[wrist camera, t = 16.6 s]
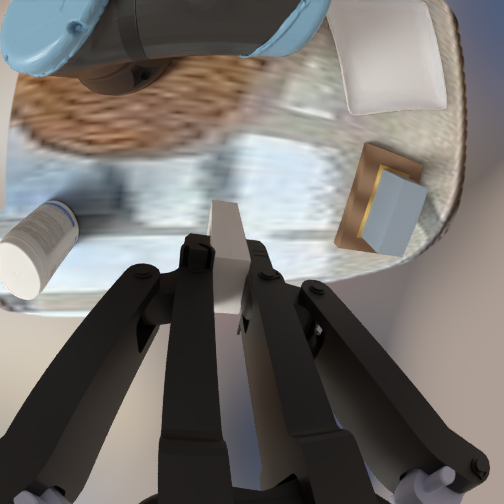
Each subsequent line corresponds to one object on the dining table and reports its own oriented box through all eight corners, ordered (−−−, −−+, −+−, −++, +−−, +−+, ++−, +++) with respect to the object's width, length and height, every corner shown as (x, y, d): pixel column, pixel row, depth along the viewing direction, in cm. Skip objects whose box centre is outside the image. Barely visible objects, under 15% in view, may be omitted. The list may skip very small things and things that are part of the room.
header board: (364, 142, 39) (383, 149, 34) (416, 162, 42) (436, 171, 37) (333, 242, 47) (346, 258, 42) (385, 250, 50) (400, 265, 45)
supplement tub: (33, 201, 36) (-17, 240, 23) (75, 196, 37) (27, 238, 24) (44, 250, 41) (5, 299, 28) (85, 250, 42) (50, 303, 29)
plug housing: (384, 240, 46) (402, 257, 41) (360, 235, 45) (377, 253, 40) (407, 177, 40) (428, 189, 35) (382, 169, 39) (404, 179, 34)
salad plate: (340, 116, 37) (350, 117, 34) (309, -7, 26) (316, -14, 23) (437, 108, 37) (450, 110, 34) (415, 4, 26) (426, 1, 23)
